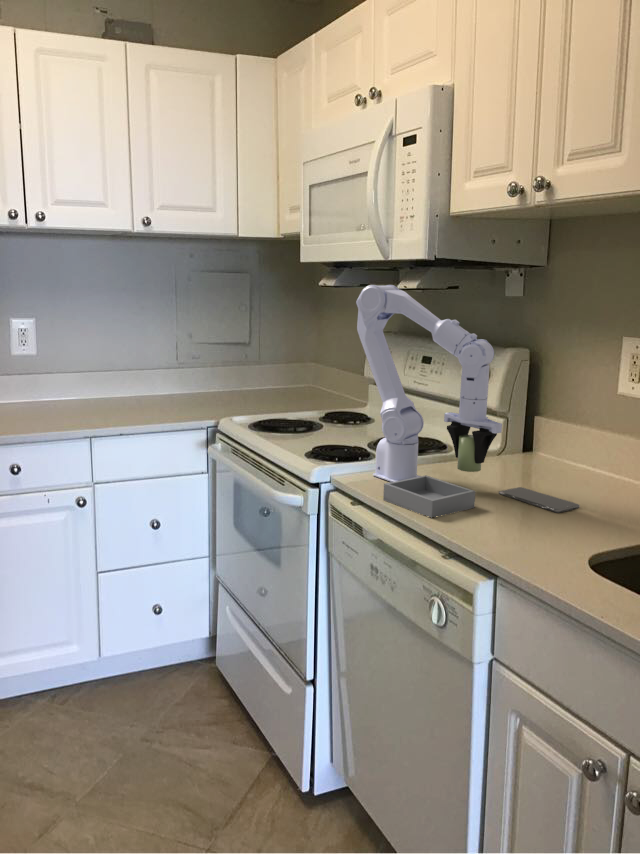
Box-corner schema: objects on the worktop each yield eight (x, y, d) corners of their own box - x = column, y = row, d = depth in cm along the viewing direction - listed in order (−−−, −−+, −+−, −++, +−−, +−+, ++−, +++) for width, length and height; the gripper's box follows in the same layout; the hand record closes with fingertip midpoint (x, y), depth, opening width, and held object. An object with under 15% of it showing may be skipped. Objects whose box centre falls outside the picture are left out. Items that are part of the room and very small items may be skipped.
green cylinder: (452, 467, 159) (454, 436, 157) (468, 464, 162) (470, 433, 160) (469, 473, 155) (471, 440, 153) (485, 469, 158) (487, 438, 156)
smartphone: (520, 486, 162) (581, 504, 148) (520, 491, 162) (581, 509, 149) (497, 491, 158) (557, 510, 144) (496, 496, 158) (557, 515, 145)
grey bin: (383, 500, 152) (383, 483, 151) (425, 490, 159) (425, 475, 158) (431, 518, 141) (432, 500, 140) (474, 507, 148) (475, 491, 147)
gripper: (513, 401, 152) (508, 464, 155) (461, 391, 163) (457, 450, 166) (490, 404, 148) (486, 469, 150) (438, 393, 159) (435, 454, 162)
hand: (469, 460), depth 158 cm, fingers closed on green cylinder, 5 cm apart
